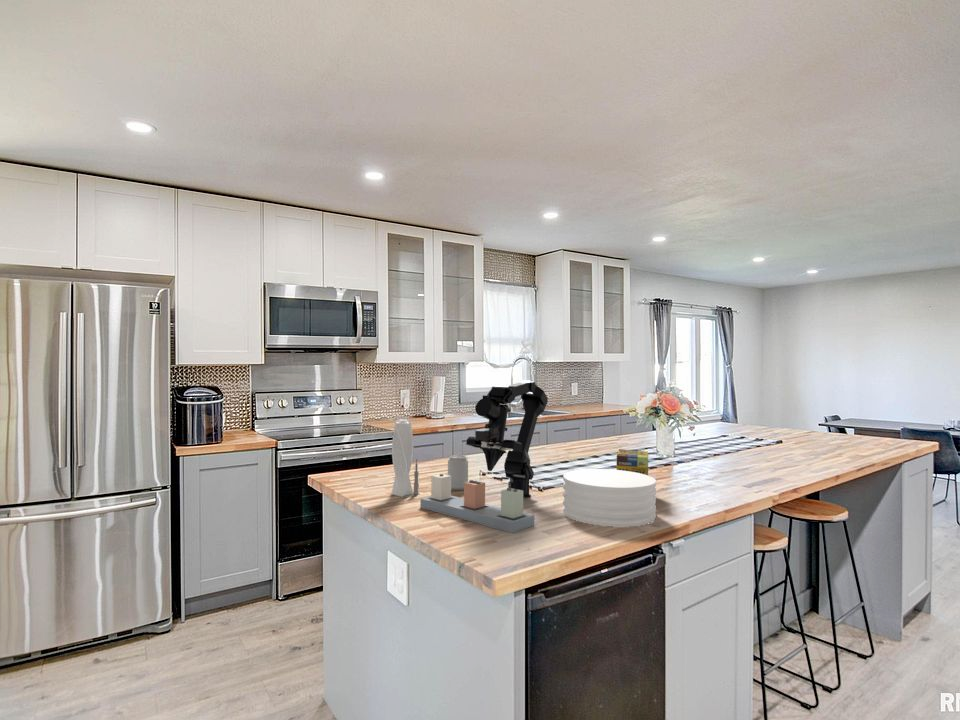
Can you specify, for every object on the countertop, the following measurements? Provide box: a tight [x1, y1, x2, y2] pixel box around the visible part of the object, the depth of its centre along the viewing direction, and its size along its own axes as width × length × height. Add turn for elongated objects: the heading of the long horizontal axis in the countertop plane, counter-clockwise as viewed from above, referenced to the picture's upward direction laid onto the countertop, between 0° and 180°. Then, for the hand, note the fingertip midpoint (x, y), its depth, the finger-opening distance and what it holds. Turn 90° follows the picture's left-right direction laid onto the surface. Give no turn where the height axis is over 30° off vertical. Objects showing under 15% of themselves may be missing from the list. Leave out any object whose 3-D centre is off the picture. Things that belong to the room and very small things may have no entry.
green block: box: [500, 487, 524, 518], centre depth 155 cm, size 4×4×8 cm
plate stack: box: [562, 468, 657, 528], centre depth 169 cm, size 28×28×12 cm
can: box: [447, 454, 469, 491], centre depth 200 cm, size 8×8×12 cm
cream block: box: [430, 473, 452, 500], centre depth 174 cm, size 4×4×8 cm
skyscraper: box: [391, 415, 420, 499], centre depth 190 cm, size 8×8×28 cm
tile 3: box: [463, 479, 486, 509], centre depth 164 cm, size 4×4×8 cm
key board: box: [419, 495, 535, 534], centre depth 164 cm, size 38×10×3 cm, turn 48°
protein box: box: [615, 448, 649, 476], centre depth 191 cm, size 10×15×16 cm
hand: (489, 470), depth 174 cm, fingers closed
